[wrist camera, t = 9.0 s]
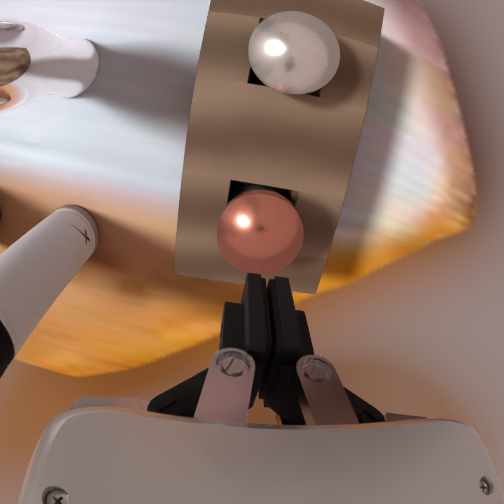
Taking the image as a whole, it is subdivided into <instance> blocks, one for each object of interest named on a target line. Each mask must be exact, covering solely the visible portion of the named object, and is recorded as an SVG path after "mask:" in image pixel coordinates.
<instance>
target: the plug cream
mask: <svg viewBox="0 0 504 504" xmlns="http://www.w3.org/2000/svg"><path fill="white" fill-rule="evenodd" d="M248 53H249V62H250V65H251V67H252V69H253V71H254V73H255V74H256V76H257V77H258V78H259V79H260V81H262V82H263V83H264V84H265V85H266V86H268V87H269V88H271V89H273V90H275V91H278V92H281V93H285V94H305V93H310V92H313V91H316V90H318V89H320V88H322V87H323V86H325V85H326V84H327V83H328V82H329V81H330V80H331V79H332V78H333V76H334V75H335V73H336V71H337V69H338V66H339V62H340V49H339V44H338V41H337V39H336V37H335V35H334V33H333V32H332V31H331V29H330V28H329V27H328V26H327V25H326V24H325V23H324V22H322V21H321V20H320V19H318V18H316V17H315V16H312V15H310V14H307V13H304V12H298V11H284V12H279V13H276V14H273V15H271V16H269V17H267V18H266V19H264V20H263V21H262V22H261V23H260V24H259V25H258V26H257V27H256V28H255V30H254V31H253V33H252V35H251V38H250V41H249V47H248Z"/></svg>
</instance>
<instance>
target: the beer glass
mask: <svg viewBox="0 0 504 504" xmlns="http://www.w3.org/2000/svg"><path fill="white" fill-rule="evenodd" d="M98 67H99V56H98V52H97V50H96V48H95V46H94V45H93V44H92V43H91V42H89V41H88V40H86V39H82V38H71V39H63V38H61V37H59V36H57V35H56V34H54V33H52V32H51V31H49V30H47V29H45V28H44V27H42V26H40V25H37V24H35V23H33V22H30V21H26V20H22V19H17V18H10V17H0V113H2V112H6V111H10V110H13V109H16V108H19V107H21V106H24V105H26V104H29V103H31V102H33V101H36V100H38V99H40V98H43V97H46V96H49V95H57V96H60V97H64V98H71V97H75V96H77V95H79V94H81V93H83V92H84V91H85V90H86V89H87V88H88V87H89V86H90V85H91V84H92V82H93V81H94V79H95V77H96V74H97V71H98Z"/></svg>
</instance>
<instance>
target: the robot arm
mask: <svg viewBox="0 0 504 504" xmlns="http://www.w3.org/2000/svg"><path fill="white" fill-rule="evenodd" d="M258 391H259V399H264V407H270V408H271V409H272V410H273V411H274V412H276V414H275V420H276V424H277V425H270V424H252V423H246V419H247V413H248V410H249V409H250V408H251V407H252V406H253V404H254V401H255V398H256V395H257V392H258ZM65 492H66V493H65ZM18 504H504V496H503V493H502V489H501V487H500V483H499V480H498V477H497V475H496V472H495V469H494V467H493V464H492V462H491V459H490V457H489V455H488V452H487V450H486V448H485V446H484V444H483V442H482V441H481V439H480V437H479V435H478V434H477V433H476V431H475V430H474V429H473V428H472V427H470V426H469V425H467V424H465V423H463V422H460V421H456V420H452V419H443V418H427V417H421V416H412V415H403V414H395V413H388V412H386V413H385V414H384V415H382V414H381V412H380V411H378V410H377V409H376V408H374V407H373V406H371V405H370V404H368V403H367V402H366V401H364V400H363V399H361V398H360V397H358V396H357V395H355V394H353V393H352V392H351V391H349V390H348V389H346V388H345V387H343V385H342V383H341V381H340V378H339V376H338V374H337V372H336V369H335V368H334V366H333V364H332V363H331V362H330V361H328V360H327V359H325V358H323V357H320V356H318V355H314V351H313V346H312V342H311V338H310V333H309V329H308V325H307V321H306V316H305V313H304V311H300V310H295V307H294V302H293V297H292V292H291V287H290V282H289V278H286V277H278V276H275V277H274V279H269V281H268V285H267V286H266V279H265V278H261V274H256V273H248V272H247V275H246V280H245V285H244V290H243V295H242V300H241V304H239V303H231V302H225V304H224V310H223V316H222V324H221V332H220V344H219V351H218V352H216V353H215V354H214V355H213V357H212V359H211V363H210V366H209V368H207V369H205V370H204V371H202V372H200V373H198V374H197V375H195V376H193V377H191V378H189V379H188V380H186V381H184V382H182V383H180V384H179V385H177V386H175V387H173V388H171V389H169V390H167V391H165V392H164V393H162V394H160V395H158V396H156V397H155V398H153V399H152V400H151V401H141V399H140V398H107V397H82V398H80V399H78V400H76V401H75V402H74V403H73V404H72V406H71V409H70V410H69V411H66V412H64V413H61V414H59V415H57V416H56V417H55V418H54V419H53V420H52V421H51V422H50V423H49V424H48V426H47V427H46V429H45V430H44V432H43V434H42V436H41V438H40V440H39V442H38V444H37V446H36V449H35V451H34V453H33V456H32V458H31V461H30V464H29V467H28V470H27V473H26V476H25V479H24V483H23V487H22V491H21V494H20V499H19V503H18Z"/></svg>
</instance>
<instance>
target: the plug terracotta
mask: <svg viewBox="0 0 504 504" xmlns="http://www.w3.org/2000/svg"><path fill="white" fill-rule="evenodd" d="M303 239H304V230H303V225H302V222H301V219H300V217H299V214H298V212H297V210H296V208H295V207H294V206H293V204H292V203H291V202H290V201H289V200H288V199H287V198H285V197H284V196H282V195H280V192H279V190H278V188H277V187H272V186H266V185H260V184H254V183H248V182H241V183H240V184H239V186H238V187H237V189H236V192H235V197H234V199H232V200H231V201H230V202H229V203H228V204H227V206H226V207H225V208H224V210H223V212H222V214H221V216H220V219H219V224H218V228H217V242H218V246H219V249H220V251H221V253H222V255H223V256H224V258H225V259H226V260H227V261H228V262H229V263H230V264H231V265H232V266H234V267H235V268H237V269H239V270H241V271H243V272H246V273H247V272H248V273H256V274H269V273H273V272H276V271H279V270H281V269H283V268H284V267H286V266H287V265H289V264H290V263H291V262H292V261H293V260H294V259H295V258H296V256H297V255H298V253H299V251H300V249H301V247H302V244H303Z"/></svg>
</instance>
